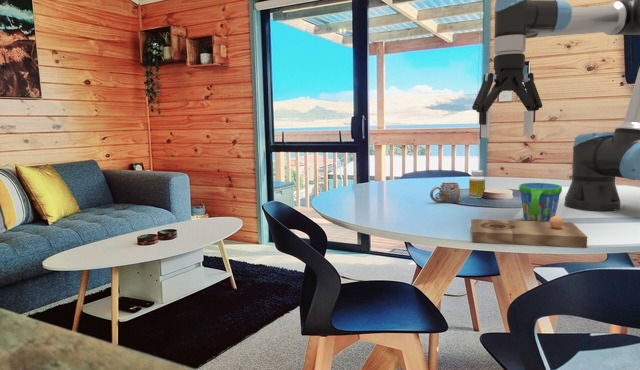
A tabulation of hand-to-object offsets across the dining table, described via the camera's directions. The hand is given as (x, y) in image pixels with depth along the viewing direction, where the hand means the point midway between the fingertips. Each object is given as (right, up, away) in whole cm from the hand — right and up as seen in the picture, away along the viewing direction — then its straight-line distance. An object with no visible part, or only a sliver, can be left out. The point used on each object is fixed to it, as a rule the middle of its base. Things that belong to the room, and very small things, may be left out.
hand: (506, 136), depth 122 cm
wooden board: (0, -26, -11) cm, 28 cm away
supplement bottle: (+7, -18, +44) cm, 48 cm away
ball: (+6, -22, -13) cm, 26 cm away
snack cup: (+11, -23, +5) cm, 26 cm away
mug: (-7, -19, +37) cm, 42 cm away
